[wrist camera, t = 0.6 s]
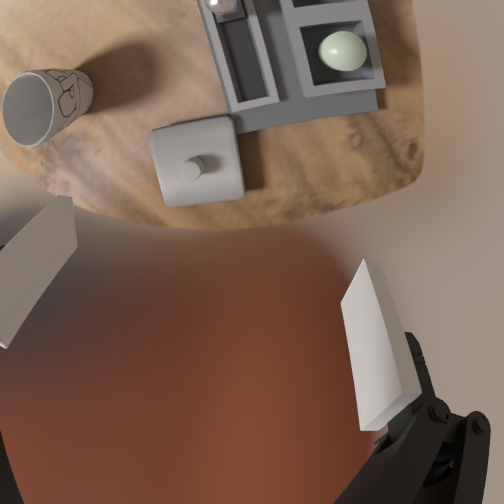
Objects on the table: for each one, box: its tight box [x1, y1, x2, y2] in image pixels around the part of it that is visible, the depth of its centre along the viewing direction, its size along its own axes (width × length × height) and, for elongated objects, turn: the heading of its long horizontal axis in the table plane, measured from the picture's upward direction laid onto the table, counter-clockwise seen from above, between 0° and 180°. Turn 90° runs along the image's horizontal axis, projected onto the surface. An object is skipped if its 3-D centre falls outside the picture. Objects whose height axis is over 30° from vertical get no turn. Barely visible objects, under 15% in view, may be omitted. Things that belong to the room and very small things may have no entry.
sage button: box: [318, 31, 367, 71], centre depth 23 cm, size 4×4×4 cm
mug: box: [2, 69, 94, 147], centre depth 28 cm, size 11×8×10 cm
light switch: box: [148, 115, 246, 207], centre depth 34 cm, size 10×10×5 cm
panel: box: [197, 0, 386, 135], centre depth 24 cm, size 26×16×6 cm, turn 14°
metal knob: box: [204, 0, 246, 24], centre depth 22 cm, size 3×3×6 cm
